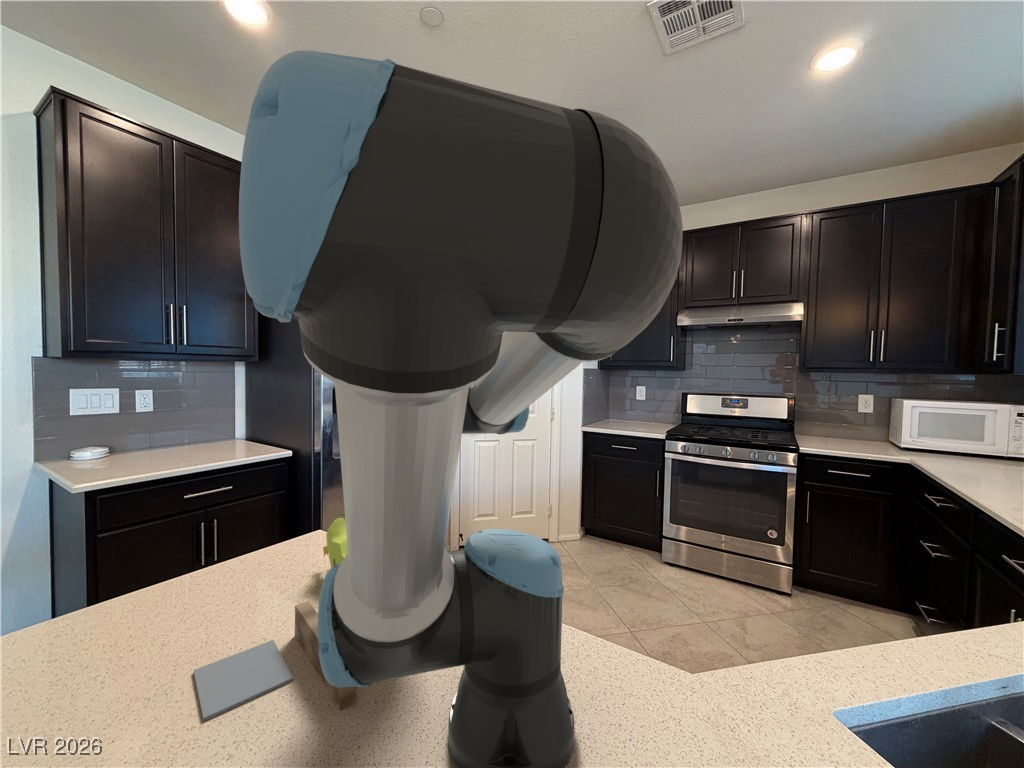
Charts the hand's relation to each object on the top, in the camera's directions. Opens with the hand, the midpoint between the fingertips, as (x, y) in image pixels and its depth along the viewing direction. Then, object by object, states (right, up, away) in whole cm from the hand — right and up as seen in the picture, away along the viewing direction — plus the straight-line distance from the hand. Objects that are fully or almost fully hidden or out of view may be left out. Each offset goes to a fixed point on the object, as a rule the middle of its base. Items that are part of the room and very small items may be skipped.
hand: (394, 606), depth 66 cm
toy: (-15, -5, +18) cm, 23 cm away
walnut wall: (-9, -5, -6) cm, 12 cm away
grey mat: (-19, -5, -9) cm, 21 cm away
